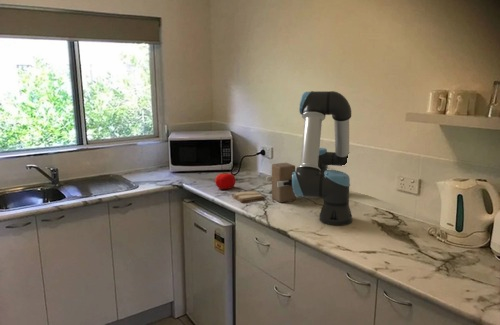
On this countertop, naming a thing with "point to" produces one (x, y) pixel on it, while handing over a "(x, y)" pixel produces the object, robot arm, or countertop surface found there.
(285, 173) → the block
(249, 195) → the trivet
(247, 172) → the countertop surface
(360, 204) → the countertop surface
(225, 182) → the tomato
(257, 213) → the countertop surface
